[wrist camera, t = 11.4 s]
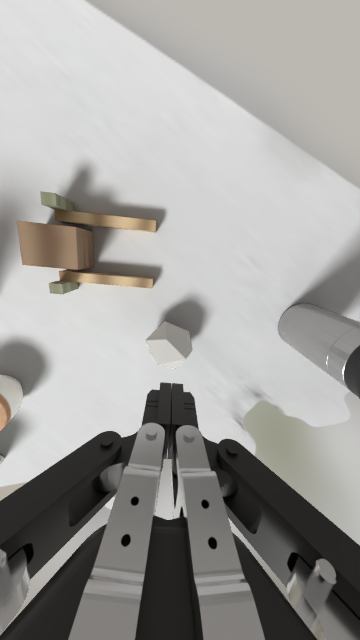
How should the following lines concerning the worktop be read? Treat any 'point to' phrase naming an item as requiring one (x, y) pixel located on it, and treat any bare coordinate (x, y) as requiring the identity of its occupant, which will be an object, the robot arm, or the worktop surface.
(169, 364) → the die
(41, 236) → the block
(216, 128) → the worktop surface
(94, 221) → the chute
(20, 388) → the lidded jar
